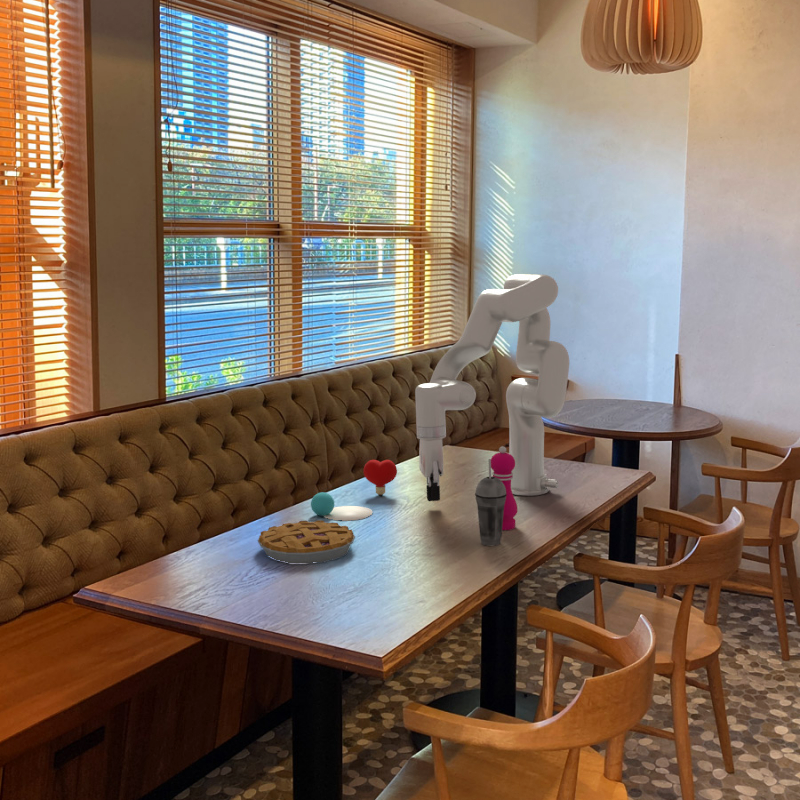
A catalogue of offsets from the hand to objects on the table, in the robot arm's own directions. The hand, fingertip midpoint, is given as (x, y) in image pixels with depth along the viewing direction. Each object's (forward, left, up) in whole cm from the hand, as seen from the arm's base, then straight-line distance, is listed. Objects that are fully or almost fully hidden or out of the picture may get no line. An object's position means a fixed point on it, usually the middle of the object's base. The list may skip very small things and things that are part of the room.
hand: (433, 499), depth 243 cm
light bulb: (+19, -6, -3) cm, 20 cm away
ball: (+23, +17, +1) cm, 29 cm away
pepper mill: (-22, +8, -3) cm, 24 cm away
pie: (+12, +43, -3) cm, 45 cm away
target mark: (+18, +13, -2) cm, 23 cm away
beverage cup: (-24, +21, -3) cm, 32 cm away
